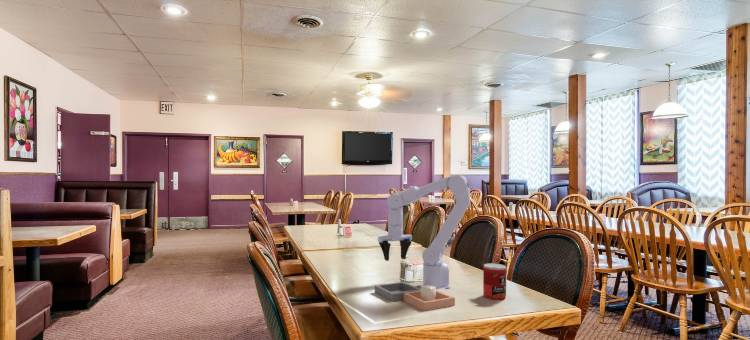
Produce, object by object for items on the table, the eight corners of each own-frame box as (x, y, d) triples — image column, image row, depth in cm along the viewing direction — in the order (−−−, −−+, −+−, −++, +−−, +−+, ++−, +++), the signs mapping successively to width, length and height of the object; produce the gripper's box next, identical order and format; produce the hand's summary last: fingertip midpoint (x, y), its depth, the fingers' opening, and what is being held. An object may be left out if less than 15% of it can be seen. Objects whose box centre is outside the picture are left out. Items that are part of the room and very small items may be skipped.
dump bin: (432, 297, 147) (432, 288, 147) (454, 307, 137) (454, 297, 137) (403, 302, 141) (403, 293, 141) (424, 312, 131) (424, 302, 131)
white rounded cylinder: (426, 299, 143) (427, 284, 143) (438, 302, 139) (439, 287, 139) (417, 301, 139) (417, 286, 139) (429, 305, 136) (429, 289, 136)
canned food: (494, 301, 143) (494, 269, 143) (478, 295, 150) (478, 264, 150) (511, 298, 147) (511, 266, 147) (494, 292, 154) (494, 262, 154)
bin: (403, 289, 156) (403, 281, 156) (422, 298, 146) (422, 289, 146) (374, 294, 150) (374, 285, 150) (392, 303, 140) (392, 294, 140)
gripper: (405, 222, 172) (404, 256, 172) (374, 224, 165) (373, 259, 165) (415, 224, 166) (414, 259, 166) (383, 226, 159) (382, 262, 159)
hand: (395, 259), depth 165 cm, fingers open, 7 cm apart
